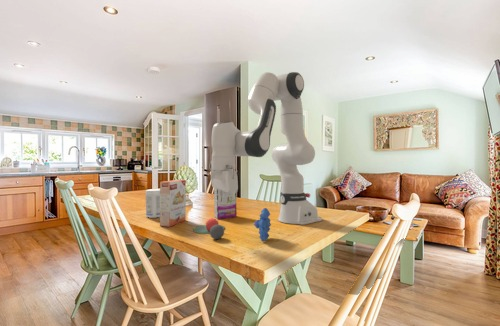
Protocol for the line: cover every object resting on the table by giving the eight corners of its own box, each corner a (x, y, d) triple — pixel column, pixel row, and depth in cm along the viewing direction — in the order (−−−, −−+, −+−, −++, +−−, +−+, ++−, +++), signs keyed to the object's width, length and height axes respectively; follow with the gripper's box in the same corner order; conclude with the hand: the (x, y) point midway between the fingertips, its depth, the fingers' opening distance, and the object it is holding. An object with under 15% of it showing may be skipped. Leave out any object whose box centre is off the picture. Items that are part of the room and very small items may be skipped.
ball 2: (227, 230, 96) (225, 238, 99) (220, 219, 99) (219, 228, 102) (214, 235, 93) (213, 244, 96) (207, 224, 96) (207, 233, 99)
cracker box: (170, 227, 114) (170, 181, 114) (159, 226, 116) (158, 181, 116) (186, 220, 128) (186, 179, 127) (176, 219, 129) (175, 179, 129)
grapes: (256, 234, 103) (256, 205, 103) (273, 235, 101) (272, 206, 101) (250, 244, 91) (250, 211, 91) (269, 245, 90) (268, 212, 90)
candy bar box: (232, 215, 139) (232, 185, 139) (236, 216, 135) (236, 186, 134) (213, 217, 134) (213, 186, 133) (217, 219, 129) (217, 187, 129)
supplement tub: (164, 213, 143) (164, 188, 143) (164, 217, 134) (164, 190, 134) (146, 215, 140) (145, 189, 140) (145, 219, 131) (145, 191, 131)
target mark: (219, 223, 121) (219, 223, 121) (229, 231, 108) (229, 230, 108) (190, 226, 115) (190, 226, 115) (197, 235, 102) (197, 234, 102)
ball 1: (220, 230, 106) (217, 231, 110) (219, 217, 107) (216, 219, 112) (207, 231, 103) (204, 232, 108) (206, 218, 105) (204, 220, 110)
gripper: (242, 165, 84) (242, 206, 84) (223, 164, 103) (223, 197, 103) (224, 165, 82) (224, 207, 82) (208, 164, 100) (208, 199, 100)
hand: (223, 202), depth 93 cm, fingers closed
